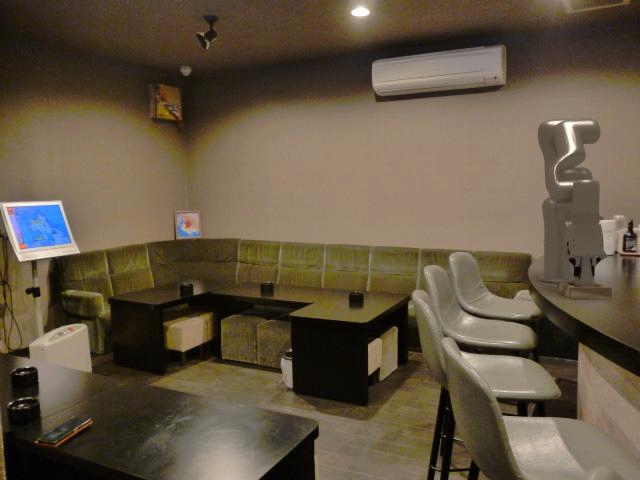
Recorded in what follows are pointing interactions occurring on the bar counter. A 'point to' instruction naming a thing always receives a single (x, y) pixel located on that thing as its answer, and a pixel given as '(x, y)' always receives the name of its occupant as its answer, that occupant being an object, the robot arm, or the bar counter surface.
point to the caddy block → (585, 291)
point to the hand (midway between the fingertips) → (583, 278)
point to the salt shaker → (585, 272)
